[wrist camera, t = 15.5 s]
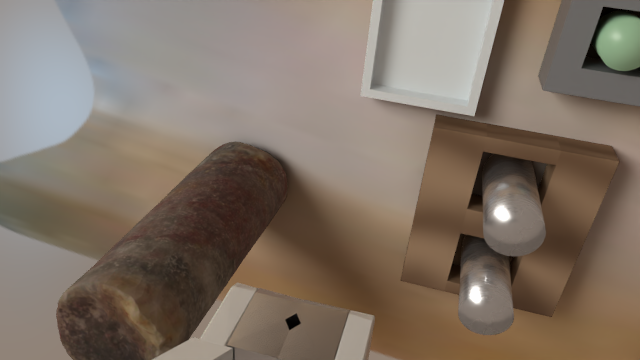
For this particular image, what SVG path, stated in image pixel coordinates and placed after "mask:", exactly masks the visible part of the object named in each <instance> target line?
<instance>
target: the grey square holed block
mask: <svg viewBox="0 0 640 360" xmlns="http://www.w3.org/2000/svg"><path fill="white" fill-rule="evenodd" d="M603 7H611V8H618V9H626V10H633V11H640V0H562V2H561V5H560V8H559V11H558V14H557V18H556V21H555V24H554V27H553V30H552V34H551V37H550V40H549V43H548V46H547V50H546V53H545V56H544V59H543V62H542V66H541V69H540V72H539V75H538V76H539V80H540V83H541V86H542V89H543V91H549V92H556V93H562V94H568V95H574V96H580V97H586V98H592V99H598V100H604V101H610V102H616V103H622V104H628V105H634V106H640V67H638V68H636V69H633V70H629V71H618V70H614V69H612V68H610V67H608V66H607V65H606V64H605V63H604V61H603V60H602V59H597V58H591V57H585V56H586V54H587V51H588V48H589V45H590V42H591V40H592V37H593V34H594V31H595V28H596V25H597V23H598V20H599V17H600V14H601V11H602V9H603Z"/></svg>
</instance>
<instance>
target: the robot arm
mask: <svg viewBox="0 0 640 360" xmlns="http://www.w3.org/2000/svg"><path fill="white" fill-rule="evenodd" d="M374 322H375V316H374V315H369V314H365V313H360V312H356V311H352V310H351V311H350V310H347V309H343V308H339V307H334V306H330V305H326V304H321V303H317V302H312V301H308V300H302V299H298V298H295V297H291V296H287V295H283V294H280V293H276V292H272V291H268V290H265V289H261V288H255V287H251V286H248V285H244V284H240V283H236V284H235V285H234V286H232V287H231V289H230V290H229V292H228V294H227V295H226V297H225V298H224V300H223V302H222V303H221V305H220V307H219V308H218V310H217V312H216V313H215V315H214V317H213V318H212V320H211V321H210V323H209V325H208V326H207V328H206V329H205V331H204V333H203V334H202V336H201V338H200V339H198V338H194V337H193V338H191V339H189V340H187V341H185V342H184V343H182V344H180V345H178V346H176V347H174V348H173V349H171V350H169V351H167V352H165V353H163V354H161V355H160V356H158V357H156V358H154V359H152V360H368V357H369V352H370V346H371V340H372V334H373V328H374Z"/></svg>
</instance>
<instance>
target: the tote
mask: <svg viewBox="0 0 640 360" xmlns="http://www.w3.org/2000/svg"><path fill="white" fill-rule="evenodd" d="M503 3H504V0H373V5H372V13H371V20H370V28H369V35H368V43H367V50H366V58H365V65H364V73H363V80H362V88H361V95H360V96H363V97H369V98H374V99H380V100H386V101H391V102H397V103H403V104H408V105H414V106H419V107H425V108H431V109H436V110H442V111H447V112H453V113H459V114H464V115H470V116H475V112H476V108H477V104H478V100H479V96H480V92H481V89H482V85H483V81H484V77H485V73H486V69H487V65H488V61H489V58H490V54H491V50H492V46H493V42H494V38H495V34H496V30H497V27H498V23H499V19H500V15H501V11H502V7H503Z"/></svg>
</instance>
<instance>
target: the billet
mask: <svg viewBox="0 0 640 360" xmlns="http://www.w3.org/2000/svg"><path fill="white" fill-rule="evenodd" d="M482 175H483V235H484V239H485V241H486V243H487V244H488V245H489V246H490V247H491V248H492V249H493V250H494V251H496V252H498V253H500V254H503V255H507V256H523V255H527V254H529V253H531V252H533V251H535V250H536V249H538V248H539V247H540V246H541V244H542V243H543V241H544V239H545V236H546V228H545V223H544V218H543V213H542V208H541V203H540V198H539V193H538V188H537V183H536V178H535V172H534V168H533V164H532V162H531V161H530V160H525V159H520V158H515V157H509V156H504V155H499V154H494V155H492V156H491V157H490V158H489V159H488V160H487V161H486V162H485V164H484V167H483V172H482Z"/></svg>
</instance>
